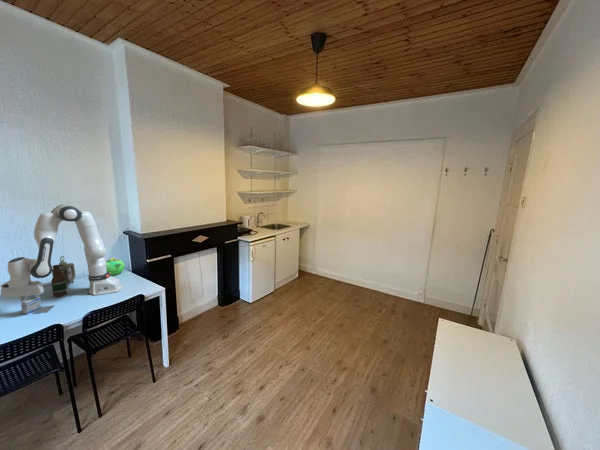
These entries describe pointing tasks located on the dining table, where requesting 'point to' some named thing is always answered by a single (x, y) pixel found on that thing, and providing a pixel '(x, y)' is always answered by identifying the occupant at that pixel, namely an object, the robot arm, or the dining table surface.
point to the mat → (43, 309)
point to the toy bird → (114, 266)
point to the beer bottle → (58, 283)
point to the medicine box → (31, 304)
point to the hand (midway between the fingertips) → (25, 301)
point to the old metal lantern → (66, 271)
